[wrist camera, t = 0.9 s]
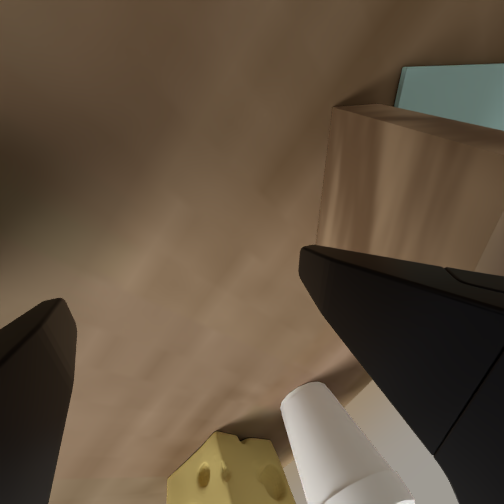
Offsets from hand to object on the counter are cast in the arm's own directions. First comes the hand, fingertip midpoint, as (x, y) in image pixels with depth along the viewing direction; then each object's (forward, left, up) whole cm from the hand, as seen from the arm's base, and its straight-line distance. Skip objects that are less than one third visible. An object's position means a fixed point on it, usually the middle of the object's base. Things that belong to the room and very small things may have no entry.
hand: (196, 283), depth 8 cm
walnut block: (+10, -9, -12) cm, 18 cm away
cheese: (-15, -35, -12) cm, 40 cm away
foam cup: (-2, -33, -12) cm, 35 cm away
